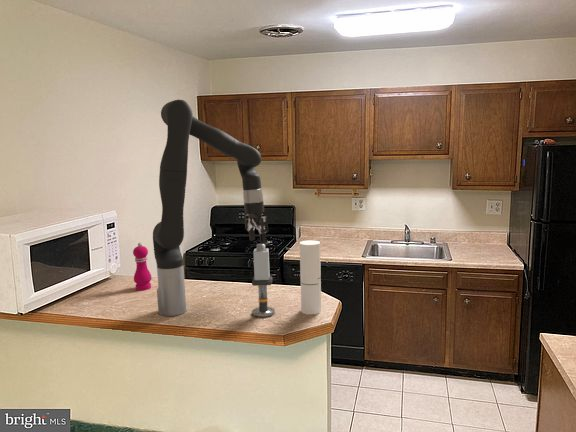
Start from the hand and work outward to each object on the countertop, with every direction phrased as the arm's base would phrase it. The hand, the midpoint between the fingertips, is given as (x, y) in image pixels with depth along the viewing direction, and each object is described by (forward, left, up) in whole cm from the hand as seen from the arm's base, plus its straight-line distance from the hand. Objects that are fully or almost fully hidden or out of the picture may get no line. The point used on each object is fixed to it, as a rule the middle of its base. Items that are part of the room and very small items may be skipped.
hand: (257, 241), depth 176 cm
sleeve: (+2, -20, -9) cm, 22 cm away
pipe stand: (+2, -20, -22) cm, 30 cm away
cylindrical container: (+19, -19, -22) cm, 35 cm away
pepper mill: (-51, +13, -22) cm, 57 cm away
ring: (+2, -20, -10) cm, 22 cm away
